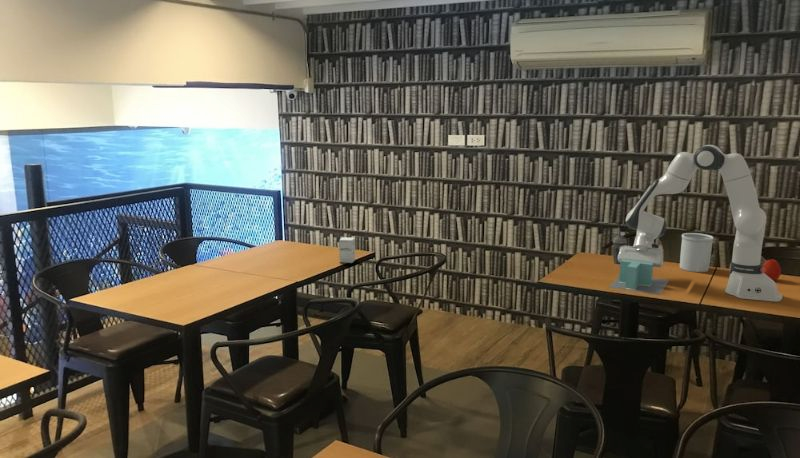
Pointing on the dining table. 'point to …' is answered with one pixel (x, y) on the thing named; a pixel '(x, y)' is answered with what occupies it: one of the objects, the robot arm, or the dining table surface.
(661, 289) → the slate board
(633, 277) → the tee block
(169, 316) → the dining table surface
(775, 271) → the apple
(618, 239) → the beverage cup
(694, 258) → the utensil holder
